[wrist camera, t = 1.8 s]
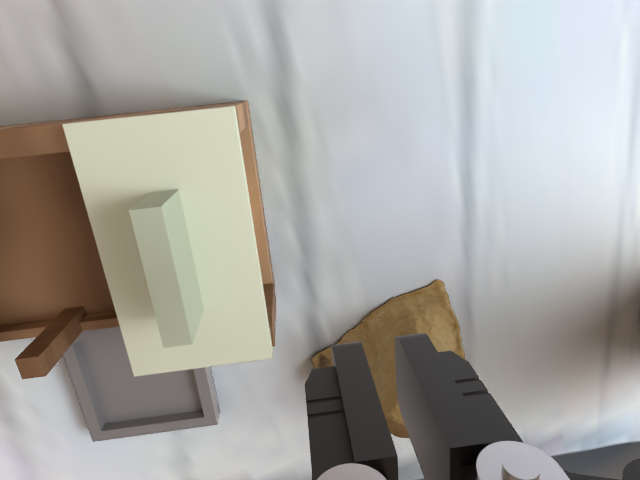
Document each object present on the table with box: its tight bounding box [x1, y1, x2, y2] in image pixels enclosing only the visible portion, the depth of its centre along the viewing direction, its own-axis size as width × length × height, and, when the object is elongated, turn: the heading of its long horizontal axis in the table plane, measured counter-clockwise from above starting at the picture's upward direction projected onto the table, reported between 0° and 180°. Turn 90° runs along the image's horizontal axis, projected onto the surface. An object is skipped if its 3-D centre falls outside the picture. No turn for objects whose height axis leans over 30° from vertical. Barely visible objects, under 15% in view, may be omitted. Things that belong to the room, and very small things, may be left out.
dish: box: [63, 326, 220, 442], centre depth 31 cm, size 9×9×1 cm
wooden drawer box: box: [0, 101, 276, 379], centre depth 25 cm, size 19×12×8 cm, turn 96°
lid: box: [62, 106, 273, 377], centre depth 19 cm, size 7×12×4 cm, turn 6°
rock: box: [311, 280, 465, 438], centre depth 30 cm, size 11×9×10 cm
